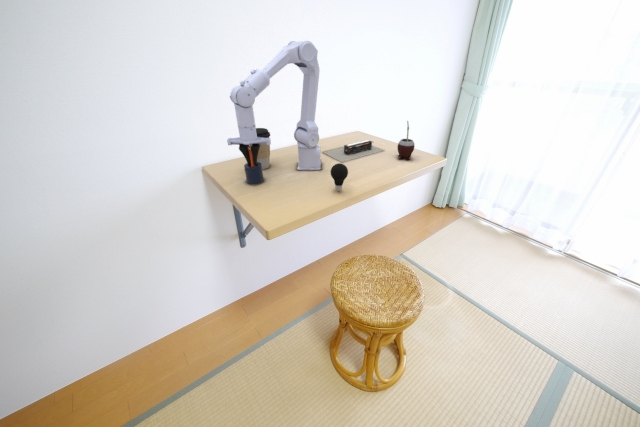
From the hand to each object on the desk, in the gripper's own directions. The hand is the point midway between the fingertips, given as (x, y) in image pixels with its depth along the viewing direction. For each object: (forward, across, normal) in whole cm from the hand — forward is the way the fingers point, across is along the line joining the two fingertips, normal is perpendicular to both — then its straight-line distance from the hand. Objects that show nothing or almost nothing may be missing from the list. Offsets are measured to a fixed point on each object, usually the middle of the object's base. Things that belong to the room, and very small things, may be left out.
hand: (252, 164), depth 94 cm
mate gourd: (+7, +62, +24) cm, 67 cm away
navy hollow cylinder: (+7, 0, 0) cm, 7 cm away
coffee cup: (+7, 0, +14) cm, 16 cm away
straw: (+2, 0, 0) cm, 2 cm away
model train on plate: (+7, +40, +32) cm, 52 cm away
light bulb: (+7, +31, -8) cm, 33 cm away
